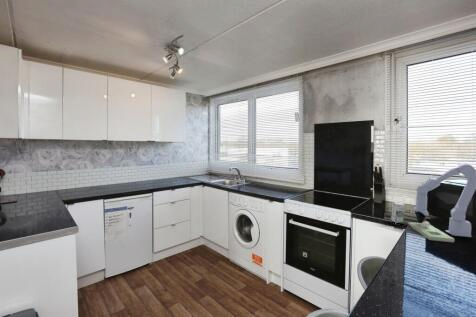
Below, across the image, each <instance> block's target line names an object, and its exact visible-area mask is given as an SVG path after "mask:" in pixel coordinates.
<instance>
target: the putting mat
mask: <svg viewBox="0 0 476 317" xmlns="http://www.w3.org/2000/svg"><path fill="white" fill-rule="evenodd" d="M408 224H409V225H410V226H411V227H410V226H409V225H408V226H409V227H410V228H411V229H413V230H414V231H416V232H418V233H419V234H421V236H423V237H424V238H426V239H427V240H428V241H436V242H437V241H438V242H447V243H455V238H454V237H452V236H450V235H448V234H447V233H446V232H444V231H442V230H440V229H438V228H436V227H435V226H433V225H431V224H430V226H429V227H428V228H425V227H423V226H422V223H418V222H410V221H408Z"/></svg>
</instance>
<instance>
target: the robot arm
mask: <svg viewBox="0 0 476 317" xmlns="http://www.w3.org/2000/svg"><path fill="white" fill-rule="evenodd" d="M461 174H462V175H463V176H464V177H465V179H466V180H467V182H466V183H465V185H464V188H463V190H462V192H461V195H460V197H459V198H458V200H457V202H456V204H455V206H454V207H453V208H452V209H450V216H451V217H449V223H448V224H449V225H448V230H447V229H446V230H444V231H445V233H448V234H451V236H456V237H467V238H472V223H471V222H470V221H469V220H466V218H467V217H466V216H467V215H466V213H467V209H468V206H469V205H470V202H471V200H472V198H473V195H474V194H475V192H476V168H474V167H473V165H471V164H468V163H461V164H459V165H458V166H457V165H456V166H454V167H453V168H451V169H449V170H448V171H445V173H443V174H441V175H440V176H438V177H436V178H435V177H434V178H433V177H432V178H428V180H427V181H425V182H424V183H423V182H422V183H421V185H418V186H417V188H416V200H415V206H414V207H413V210H414V213H415V216H416V220H417V223H422V222H424V220H425V219H426V218H427V216H429V215H430V214H429V213H430V212H429V211H428V210H427V209H428V194H429V193H428V192H429V191H432V190H434V189H436V188H437V187H439V186H441V183H442V182H443V181H445V180H447V179H450V178H452V177H453V176H460V175H461Z"/></svg>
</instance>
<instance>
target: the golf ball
mask: <svg viewBox="0 0 476 317" xmlns="http://www.w3.org/2000/svg"><path fill="white" fill-rule="evenodd" d="M430 225H431V223H430V222H429V221H426V220H425V221H423V222H422V226H423V227H425V228H428V227H429V226H430Z"/></svg>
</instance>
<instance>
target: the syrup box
mask: <svg viewBox="0 0 476 317" xmlns="http://www.w3.org/2000/svg"><path fill="white" fill-rule="evenodd" d="M405 211H406V204H404V203H403V202H396V201H395V202H394V201H393V202H391V210H390V221H391V220H392V221H394V222H395V224H394V225H397V224H396V223H398V222H405Z"/></svg>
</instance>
